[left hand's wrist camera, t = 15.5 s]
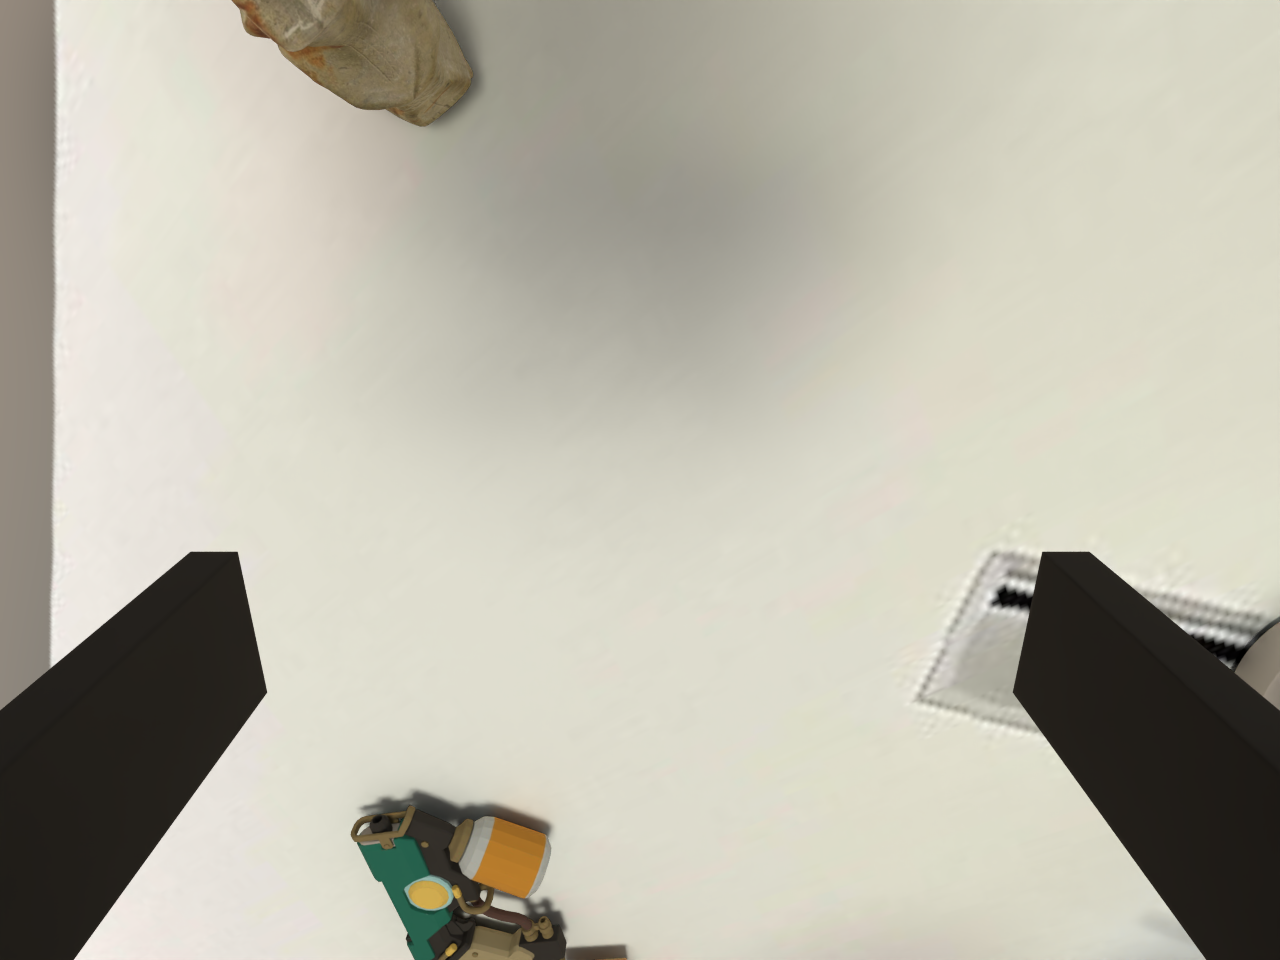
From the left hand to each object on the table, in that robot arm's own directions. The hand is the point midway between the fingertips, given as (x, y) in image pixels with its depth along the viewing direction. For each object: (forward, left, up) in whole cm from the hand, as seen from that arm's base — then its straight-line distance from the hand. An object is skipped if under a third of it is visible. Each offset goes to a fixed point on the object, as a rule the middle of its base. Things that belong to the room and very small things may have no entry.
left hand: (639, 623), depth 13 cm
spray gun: (+44, -2, -32) cm, 54 cm away
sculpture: (-10, -14, -32) cm, 36 cm away
